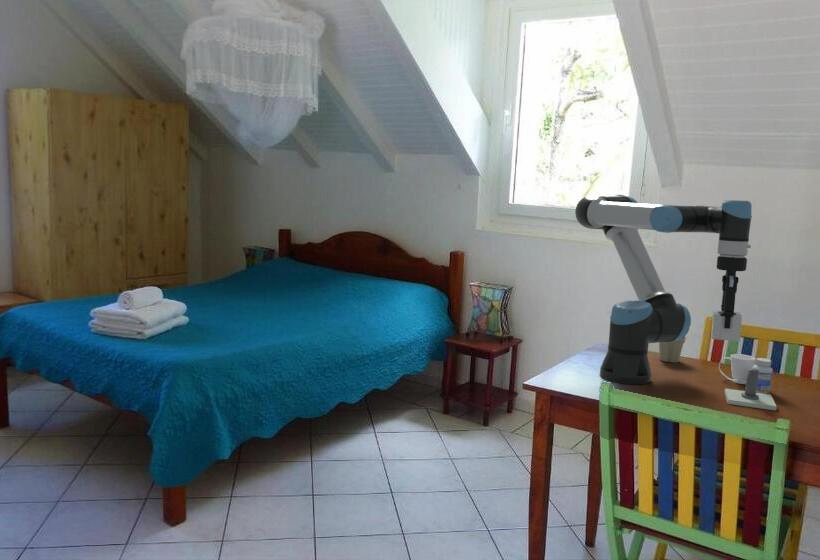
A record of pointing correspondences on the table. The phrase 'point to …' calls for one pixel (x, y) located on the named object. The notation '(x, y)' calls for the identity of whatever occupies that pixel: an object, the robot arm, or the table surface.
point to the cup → (739, 367)
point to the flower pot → (671, 350)
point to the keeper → (750, 394)
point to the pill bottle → (763, 375)
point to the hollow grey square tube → (718, 322)
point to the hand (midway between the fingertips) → (725, 336)
